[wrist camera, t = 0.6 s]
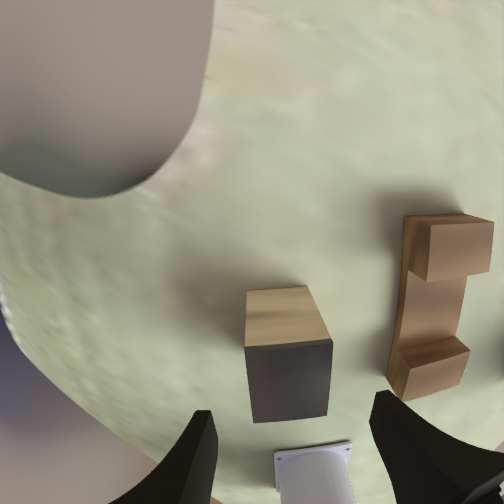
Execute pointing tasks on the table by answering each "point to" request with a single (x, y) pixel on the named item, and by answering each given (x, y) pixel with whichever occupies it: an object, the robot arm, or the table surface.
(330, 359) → the tan wooden block
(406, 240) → the brown u-shaped block
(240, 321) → the table surface
